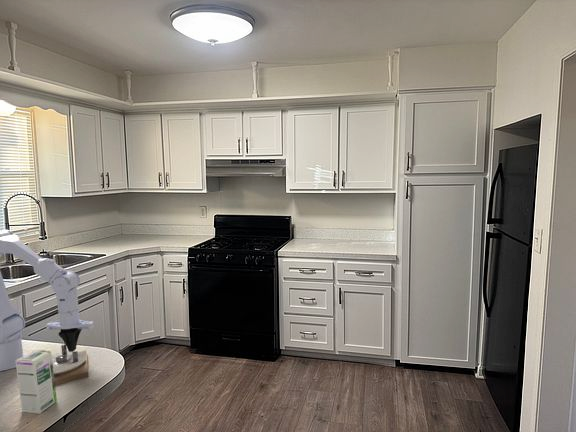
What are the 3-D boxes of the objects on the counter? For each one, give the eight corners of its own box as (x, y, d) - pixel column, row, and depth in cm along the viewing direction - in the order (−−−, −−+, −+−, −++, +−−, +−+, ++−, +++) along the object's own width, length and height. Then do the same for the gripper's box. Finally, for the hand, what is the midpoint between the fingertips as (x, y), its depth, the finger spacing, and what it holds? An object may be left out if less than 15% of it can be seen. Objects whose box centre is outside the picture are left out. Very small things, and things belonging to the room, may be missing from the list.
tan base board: (38, 365, 125) (37, 359, 125) (86, 354, 132) (86, 349, 132) (33, 390, 110) (33, 383, 110) (88, 376, 117) (87, 370, 117)
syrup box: (39, 414, 99) (34, 360, 97) (20, 412, 100) (14, 359, 98) (57, 401, 104) (52, 350, 103) (38, 399, 106) (33, 349, 104)
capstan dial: (43, 360, 125) (41, 346, 124) (87, 352, 129) (86, 339, 129) (32, 379, 113) (30, 365, 112) (82, 370, 117) (80, 356, 117)
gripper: (97, 305, 128) (100, 344, 129) (53, 306, 128) (57, 345, 129) (85, 312, 121) (89, 354, 122) (40, 314, 121) (44, 355, 122)
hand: (72, 350), depth 125 cm, fingers closed
